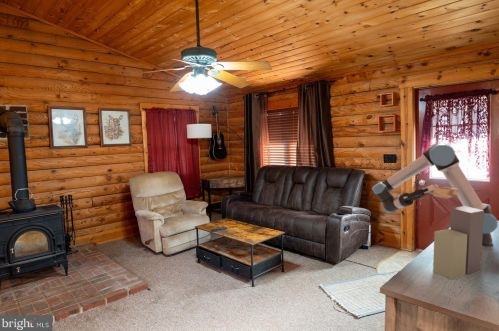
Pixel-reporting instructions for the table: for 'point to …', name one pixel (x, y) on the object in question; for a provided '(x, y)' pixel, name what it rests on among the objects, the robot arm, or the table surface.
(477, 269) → the tall stand
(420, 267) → the table surface
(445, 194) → the handle block
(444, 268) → the low stand
